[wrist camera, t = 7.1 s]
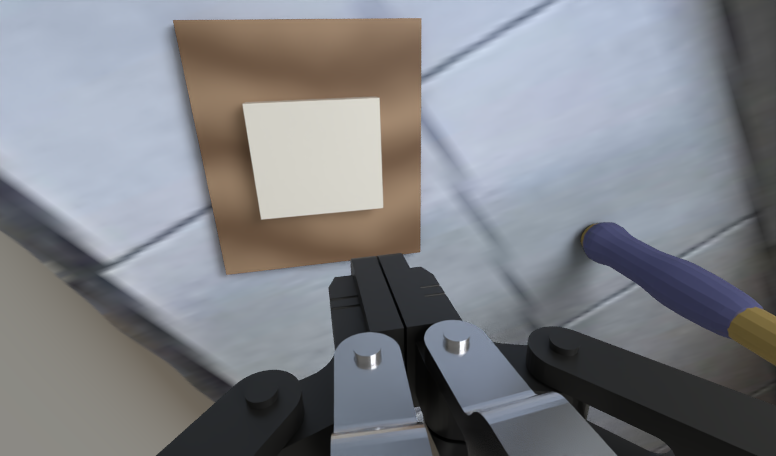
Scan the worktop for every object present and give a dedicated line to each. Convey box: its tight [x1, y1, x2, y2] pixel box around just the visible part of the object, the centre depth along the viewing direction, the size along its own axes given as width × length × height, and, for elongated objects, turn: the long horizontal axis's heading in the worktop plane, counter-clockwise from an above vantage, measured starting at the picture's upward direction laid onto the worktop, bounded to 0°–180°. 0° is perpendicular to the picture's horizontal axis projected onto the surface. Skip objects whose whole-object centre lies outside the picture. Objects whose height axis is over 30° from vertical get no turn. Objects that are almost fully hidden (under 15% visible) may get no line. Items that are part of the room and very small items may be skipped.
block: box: [242, 96, 383, 220], centre depth 28 cm, size 8×2×9 cm
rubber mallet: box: [581, 222, 776, 366], centre depth 25 cm, size 12×8×30 cm, turn 40°
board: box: [173, 18, 421, 275], centre depth 30 cm, size 18×16×1 cm
